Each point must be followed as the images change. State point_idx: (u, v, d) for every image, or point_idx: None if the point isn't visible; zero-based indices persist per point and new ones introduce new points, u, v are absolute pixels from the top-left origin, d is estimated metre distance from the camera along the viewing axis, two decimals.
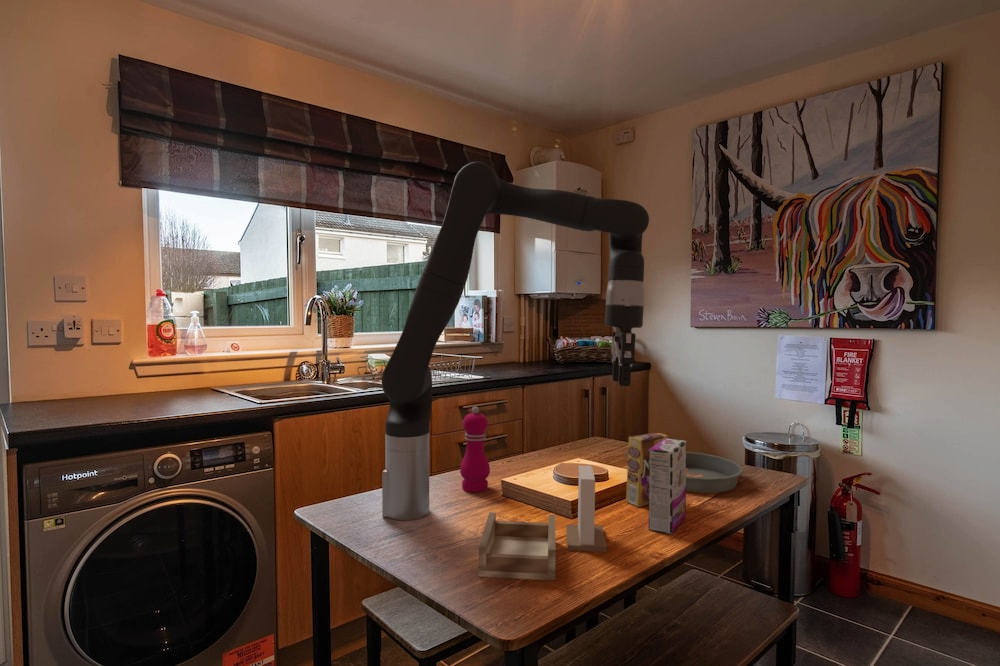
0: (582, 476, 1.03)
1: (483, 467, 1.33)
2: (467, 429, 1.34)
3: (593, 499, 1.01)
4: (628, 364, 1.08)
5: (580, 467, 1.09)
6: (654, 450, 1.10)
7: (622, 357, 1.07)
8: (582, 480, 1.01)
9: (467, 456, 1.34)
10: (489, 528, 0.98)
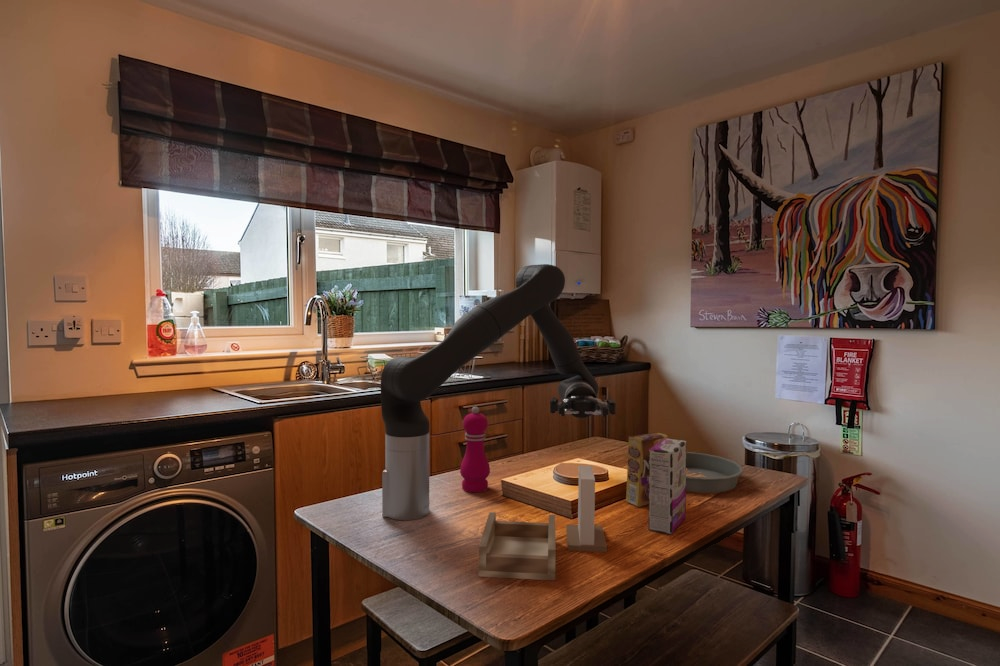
0: (582, 476, 1.03)
1: (483, 467, 1.33)
2: (467, 429, 1.34)
3: (593, 499, 1.01)
4: (612, 410, 1.21)
5: (580, 467, 1.09)
6: (654, 450, 1.10)
7: None
8: (582, 480, 1.01)
9: (467, 456, 1.34)
10: (489, 528, 0.98)
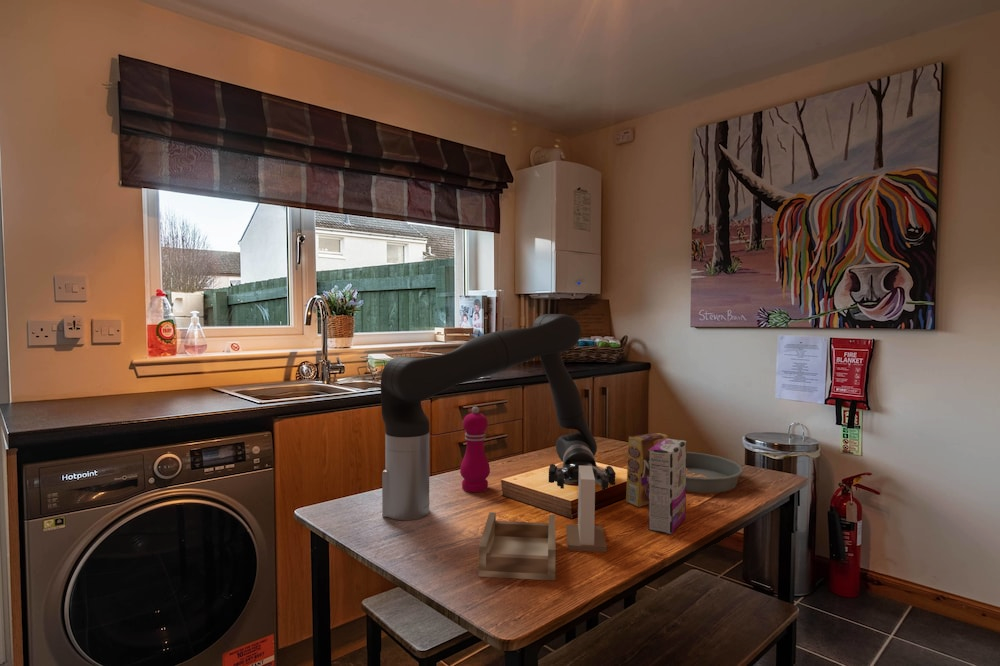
0: (582, 476, 1.03)
1: (483, 467, 1.33)
2: (467, 429, 1.34)
3: (593, 499, 1.01)
4: (611, 480, 1.19)
5: (580, 467, 1.09)
6: (654, 450, 1.10)
7: (614, 473, 1.21)
8: (582, 480, 1.01)
9: (467, 456, 1.34)
10: (489, 528, 0.98)
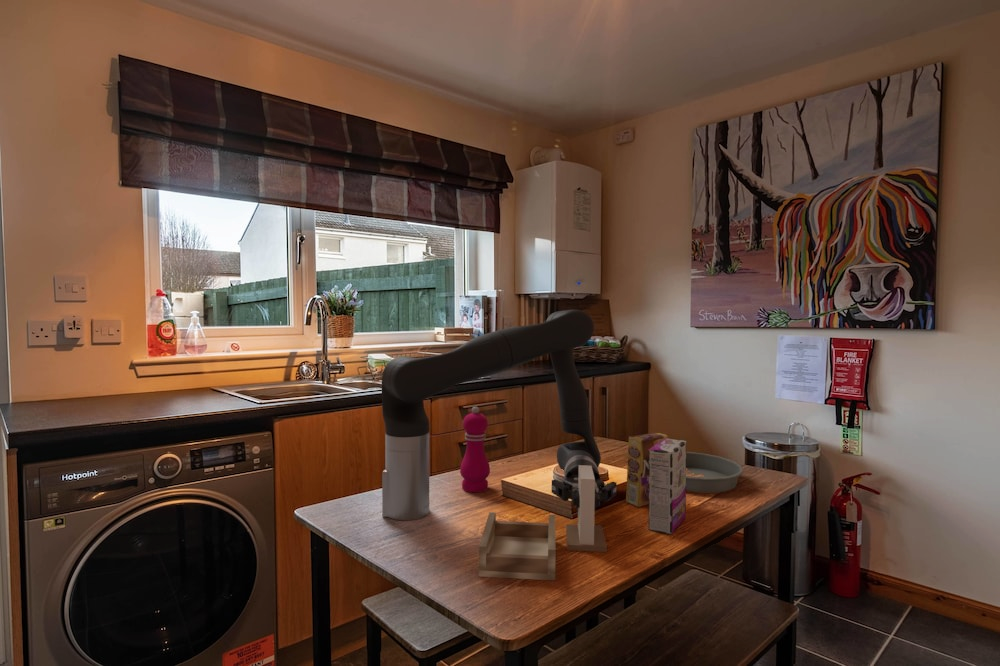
0: (582, 476, 1.03)
1: (483, 467, 1.33)
2: (467, 429, 1.34)
3: (593, 499, 1.01)
4: (603, 497, 1.08)
5: (580, 467, 1.09)
6: (654, 450, 1.10)
7: (608, 489, 1.09)
8: (582, 480, 1.01)
9: (467, 456, 1.34)
10: (489, 528, 0.98)
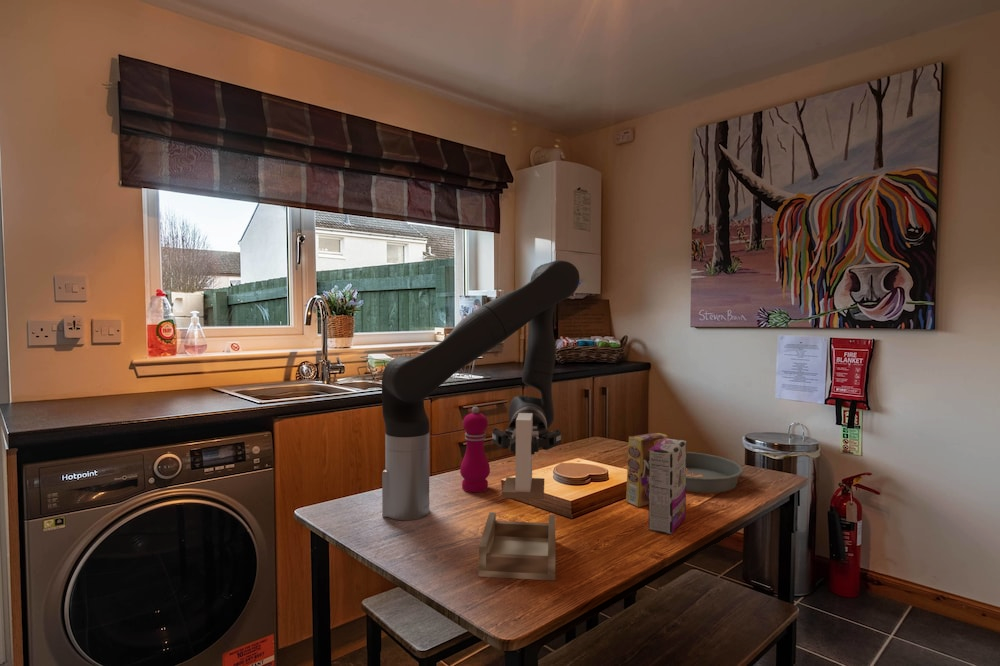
0: (518, 418, 0.96)
1: (483, 467, 1.33)
2: (467, 429, 1.34)
3: (529, 441, 0.94)
4: (544, 444, 1.01)
5: (520, 413, 1.02)
6: (654, 450, 1.10)
7: (550, 436, 1.02)
8: (517, 421, 0.94)
9: (467, 456, 1.34)
10: (489, 528, 0.98)
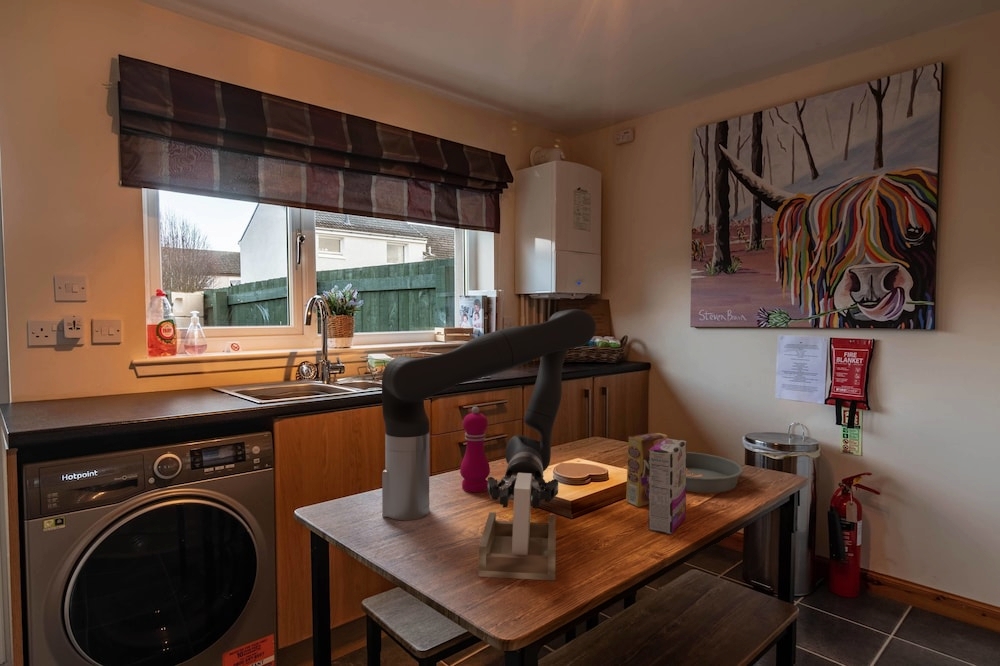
0: (517, 485, 0.94)
1: (483, 467, 1.33)
2: (467, 429, 1.34)
3: (527, 511, 0.92)
4: (546, 497, 1.01)
5: (518, 475, 1.00)
6: (654, 450, 1.10)
7: (551, 488, 1.02)
8: (515, 489, 0.92)
9: (467, 456, 1.34)
10: (489, 528, 0.98)
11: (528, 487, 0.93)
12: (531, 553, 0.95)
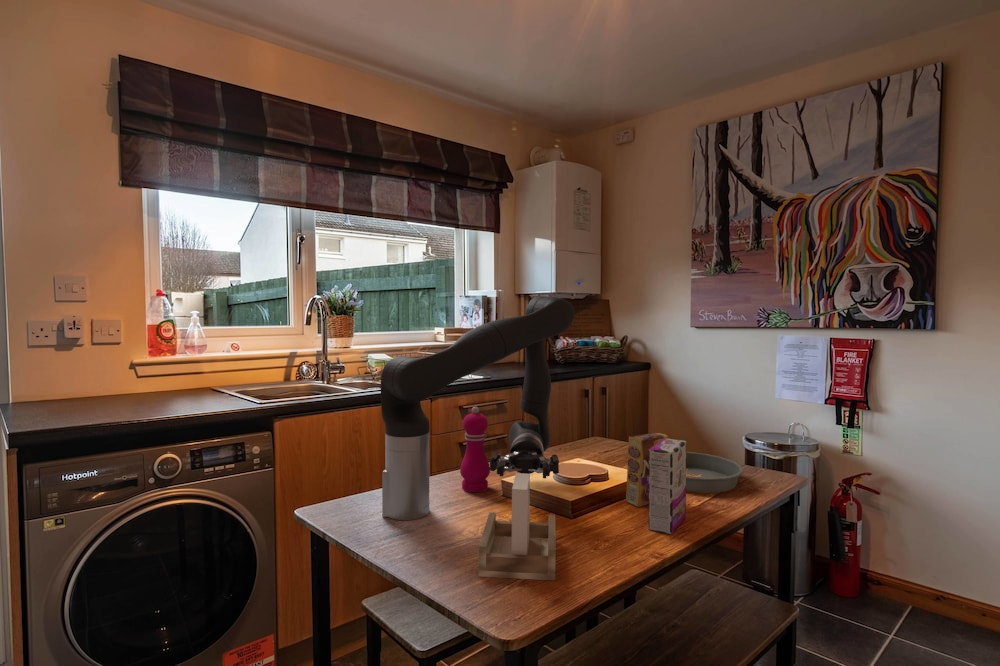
0: (514, 485, 0.94)
1: (483, 467, 1.33)
2: (467, 429, 1.34)
3: (525, 511, 0.92)
4: (554, 469, 1.14)
5: (516, 475, 1.00)
6: (654, 450, 1.10)
7: (558, 461, 1.16)
8: (513, 490, 0.92)
9: (467, 456, 1.34)
10: (489, 528, 0.98)
11: (526, 487, 0.93)
12: (531, 553, 0.95)
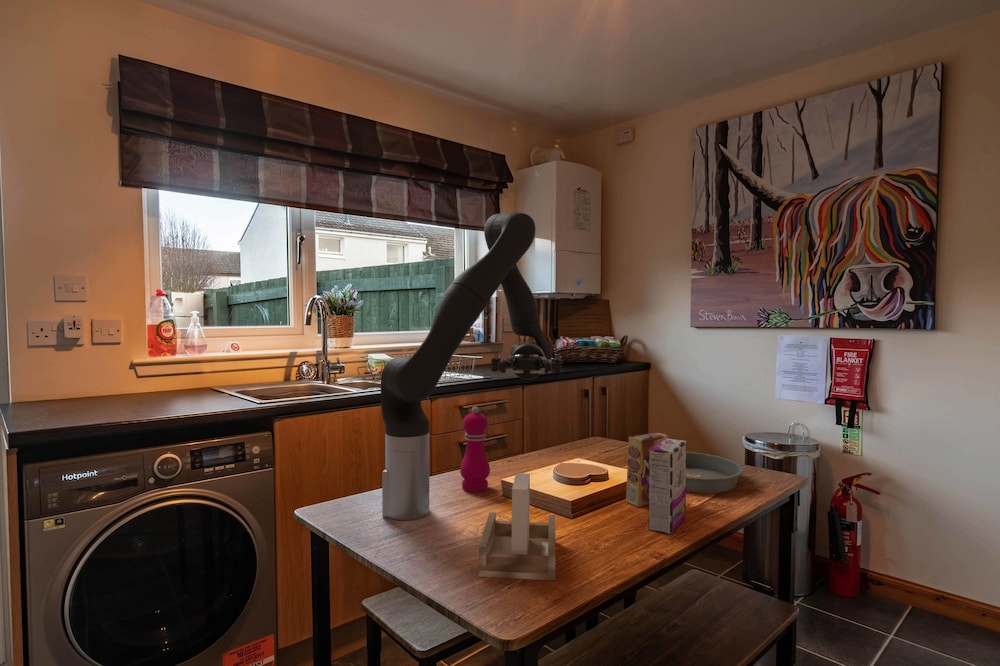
0: (514, 485, 0.94)
1: (483, 467, 1.33)
2: (467, 429, 1.34)
3: (525, 511, 0.92)
4: (556, 367, 1.14)
5: (516, 475, 1.00)
6: (654, 450, 1.10)
7: None
8: (513, 490, 0.92)
9: (467, 456, 1.34)
10: (489, 528, 0.98)
11: (526, 487, 0.93)
12: (531, 553, 0.95)
